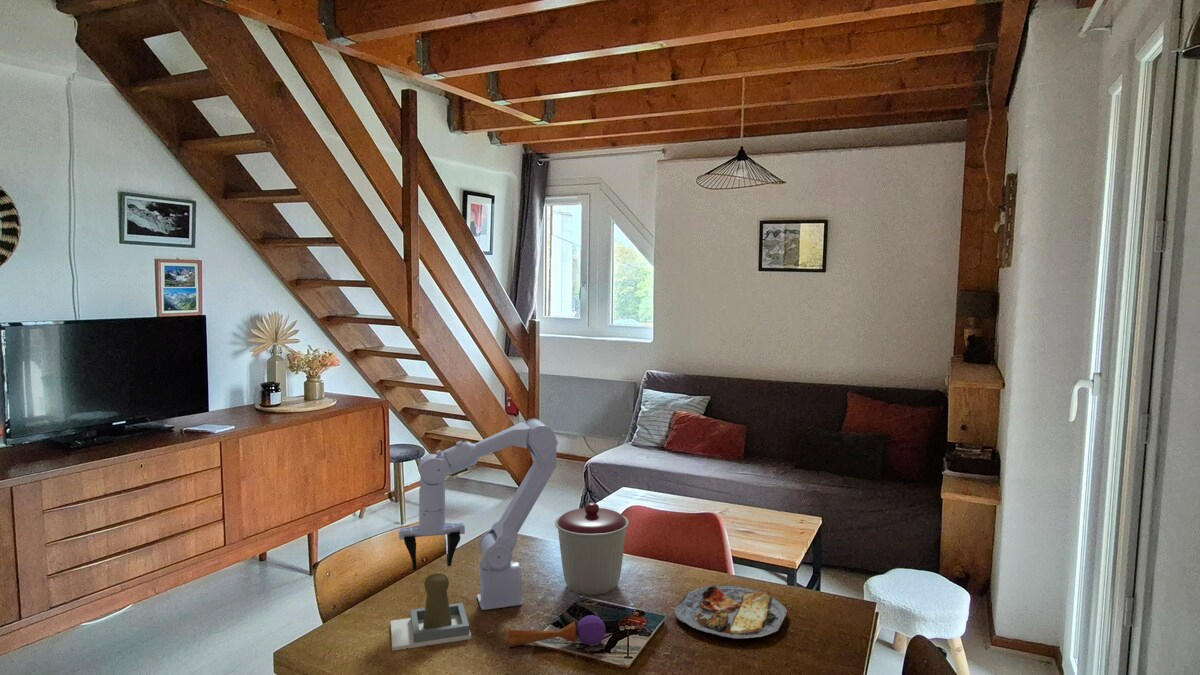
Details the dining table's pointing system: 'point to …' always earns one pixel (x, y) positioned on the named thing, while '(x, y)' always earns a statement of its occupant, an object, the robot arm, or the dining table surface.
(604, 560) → the canister
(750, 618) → the food plate
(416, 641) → the socket board
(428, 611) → the olive knobbed tapered peg
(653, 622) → the dining table surface
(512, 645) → the kendama
